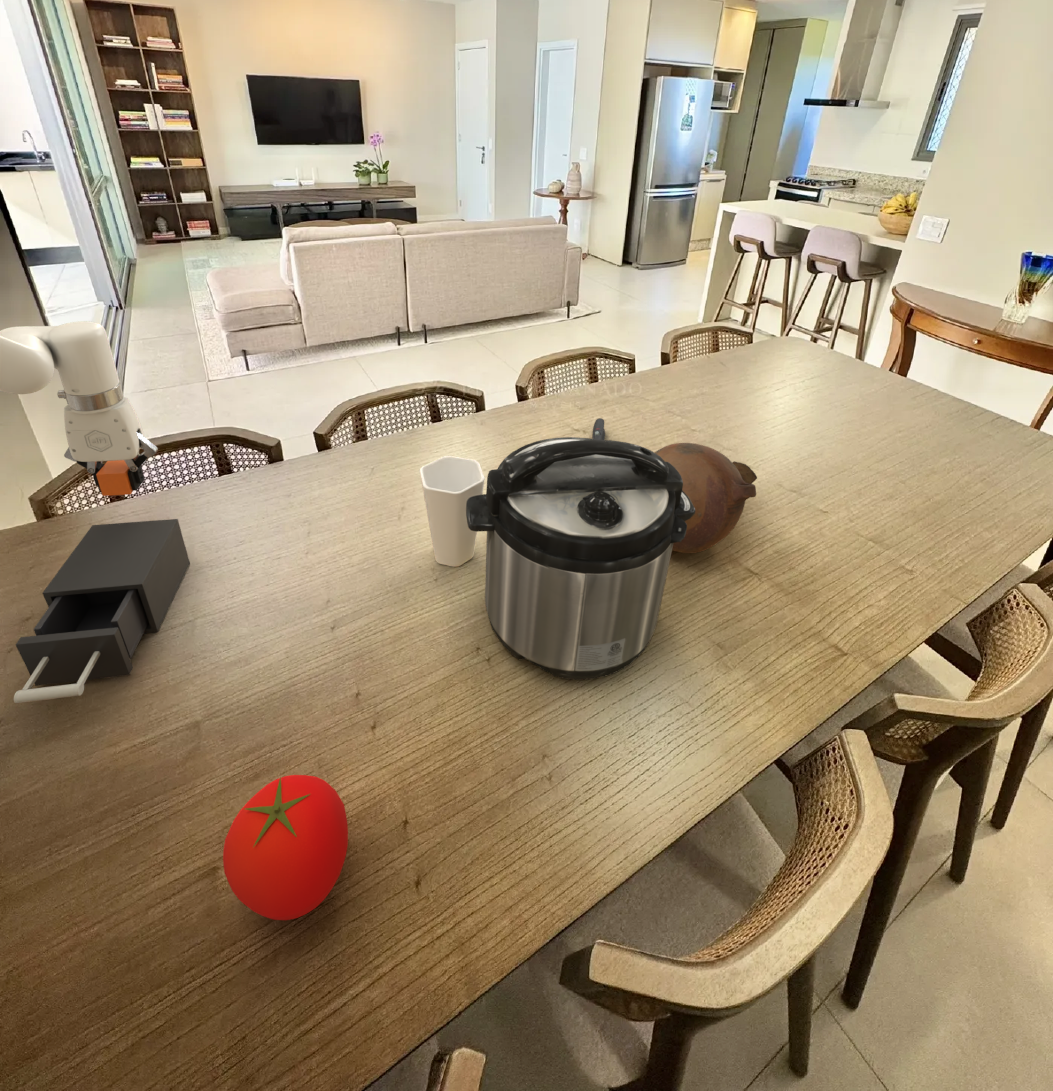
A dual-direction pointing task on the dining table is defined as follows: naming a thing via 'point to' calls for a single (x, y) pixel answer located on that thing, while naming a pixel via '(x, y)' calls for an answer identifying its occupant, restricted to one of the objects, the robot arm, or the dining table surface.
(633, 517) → the pressure cooker
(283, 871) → the tomato
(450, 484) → the cup
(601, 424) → the can opener
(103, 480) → the block
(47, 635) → the drawer
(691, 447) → the jug
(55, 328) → the robot arm
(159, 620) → the dark grey cabinet
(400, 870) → the dining table surface
